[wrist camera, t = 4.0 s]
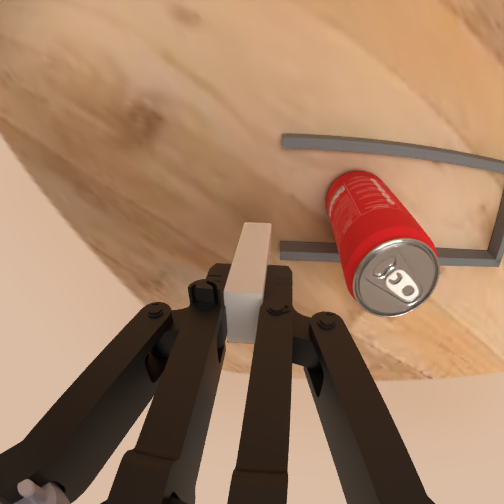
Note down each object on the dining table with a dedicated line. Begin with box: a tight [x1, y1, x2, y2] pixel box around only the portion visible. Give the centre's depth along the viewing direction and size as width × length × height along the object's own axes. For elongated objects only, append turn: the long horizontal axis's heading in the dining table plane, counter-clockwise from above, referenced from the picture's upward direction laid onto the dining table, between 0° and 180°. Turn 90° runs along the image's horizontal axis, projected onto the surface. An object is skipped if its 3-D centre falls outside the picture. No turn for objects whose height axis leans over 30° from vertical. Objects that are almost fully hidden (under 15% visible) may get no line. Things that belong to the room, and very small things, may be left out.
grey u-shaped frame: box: [280, 134, 504, 267], centre depth 24 cm, size 22×10×2 cm, turn 90°
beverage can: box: [326, 171, 440, 317], centre depth 20 cm, size 5×5×12 cm
